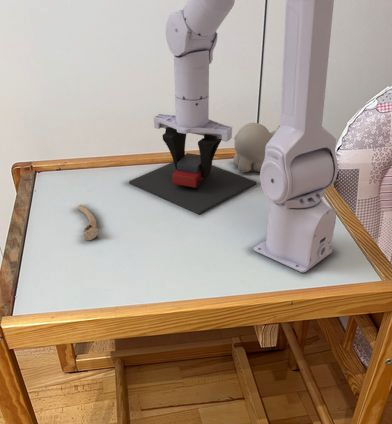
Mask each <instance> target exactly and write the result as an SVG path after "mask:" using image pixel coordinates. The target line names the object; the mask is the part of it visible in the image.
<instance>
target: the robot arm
mask: <svg viewBox="0 0 392 424" xmlns="http://www.w3.org/2000/svg"><path fill="white" fill-rule="evenodd" d="M235 2H236V0H187V1H186V3H185V5H184V6H183V8H182V9H179V10H178V11H172V12H170V13H169V14H168V17H167V20H166V22H165V23H166V24H165V37H166V38H165V39H166V43H167V46H168V49H169V50H170V52H171V53H172V54H173V72H174V75H173V76H174V77H173V78H174V109H175V114H165V113H164V114H163V113H158V114H157V115H155V116H154V117H153V128H154V129H157V130H159V129H165V132H164V133H162V141H163V142H164V143H165V146H167V149H168V151H169V153H170V156H171V159H172V162H174V164H175V168H176V170H177V163H178V162H179V161H180V160H181V159H182V158H183V157H184V156H185V155H186V142H187V141H186V140H187V134H193V135H197V136H203V137H202V138H201V139H200V140H199V141H197V146H198V150H199V155H200V157H201V175H202V177H203V178H205V177H206V176H208V175H209V173H210V168H211V164H212V165H213V161H214V157H215V155H216V152H217V150H218V148H219V146H220V144H221V142H225V143H227V142H229V141H230V140H231V139H233V126H230V125H225V124H223V123H220V122H217V121H215V120H212V119H209V116H210V115H209V114H210V113H209V111H210V110H209V109H210V107H209V106H210V65H211V64H212V62H213V59H214V57H213V56H214V49H215V48H216V45H217V42H218V33H217V30H218V29H219V27H220V26H221V25H222V24H223V22H224V20H225V19H226V17H227V16H228V15H229V13H230V12H231V10H232V9H233V7H234V5H235ZM334 3H335V0H285V15H284V16H285V17H284V39H283V56H282V58H283V59H282V79H281V80H282V81H281V99H280V100H281V101H280V119H279V121H280V123H279V125H280V127H279V129H278V130H277V129H276V130H277V132H276V133H275V134H274V135H273V137H272V138H271V139H270V140H269V142H268V143H267V144H266V147H265V158H264V162H263V164H262V167H261V171H260V172H259V182H260V186H261V189H262V191H263V193H264V195H265V196H266V198H267V199H268V200H269V207H268V217H267V229H266V236H265V237H266V238H265V240H263V241H262V242H260V243H259V244H257V245H255V246H254V247H253V251H254V252H256V253H258V254H261V255H263V256H265V257H267V258H269V259H271V260H273V261H276V262H278V263H280V264H282V265H284V266H287V267H289V268H291V269H293V270H295V271H297V272H300V273H303V274H304V273H306V272H308V271H309V270H310V269H312V268H313V267H315V266H316V265H317V264H318V263H320V262H321V261H322V260H324V259H325V258H326V257H328V256H330V255H331V254H332V253H333V249H332V247H331V246H332V242H333V236H334V231H335V227H336V222H337V213H336V210H335V209H333V208H332V207H330V206H329V205H327V204H326V203H325V202H324V200H323V199H322V198H323V197H325V196H326V192H327V189H328V188H330V187H331V186H332V185H334V183H335V182H336V180H337V177H338V173H339V164H338V163H339V162H338V159H337V158H338V157H337V154H336V145H337V138H336V137H335V136H334V135H333V134H332V133H330V131H328V130H327V129H326V128H324V127H323V119H324V109H325V99H326V89H327V78H328V66H329V56H330V47H331V36H332V35H331V34H332V23H333V15H334V14H333V13H334Z"/></svg>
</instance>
